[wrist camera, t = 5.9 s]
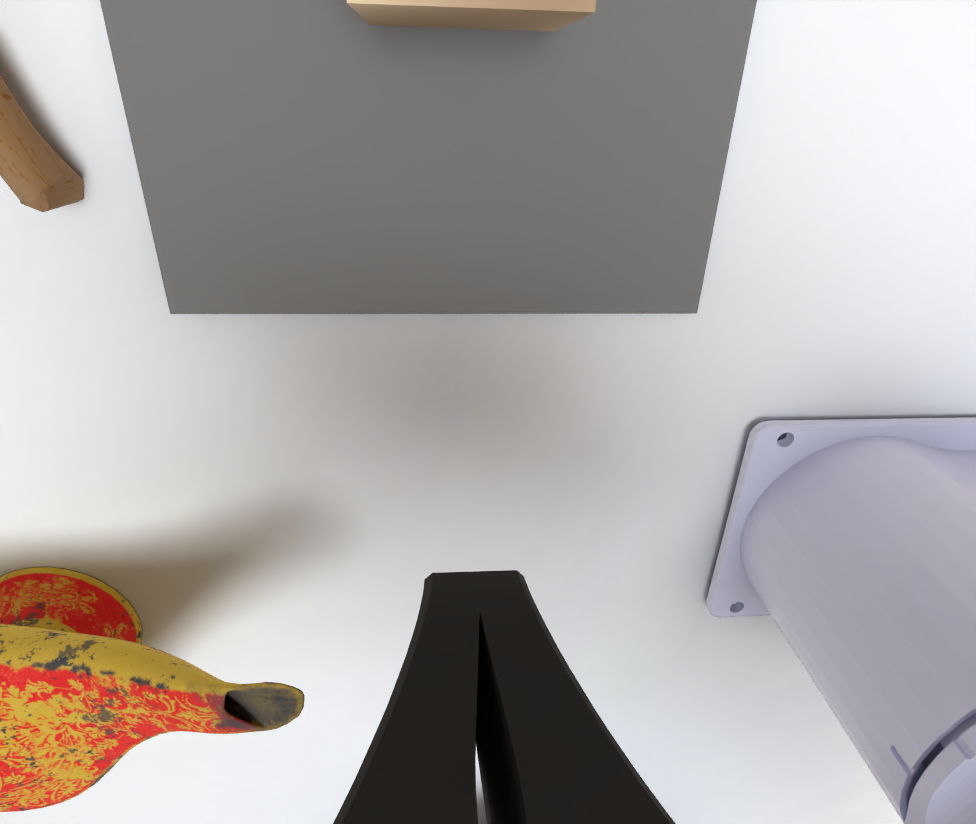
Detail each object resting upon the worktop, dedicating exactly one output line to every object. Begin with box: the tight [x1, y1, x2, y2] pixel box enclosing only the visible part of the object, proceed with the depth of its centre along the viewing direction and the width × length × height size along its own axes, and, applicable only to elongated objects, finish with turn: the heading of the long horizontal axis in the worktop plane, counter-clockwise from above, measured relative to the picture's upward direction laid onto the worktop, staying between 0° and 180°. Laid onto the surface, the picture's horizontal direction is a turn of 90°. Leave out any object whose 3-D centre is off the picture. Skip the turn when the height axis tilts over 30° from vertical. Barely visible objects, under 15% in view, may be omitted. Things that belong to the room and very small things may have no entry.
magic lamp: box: [0, 567, 304, 812], centre depth 16 cm, size 7×18×11 cm, turn 113°
